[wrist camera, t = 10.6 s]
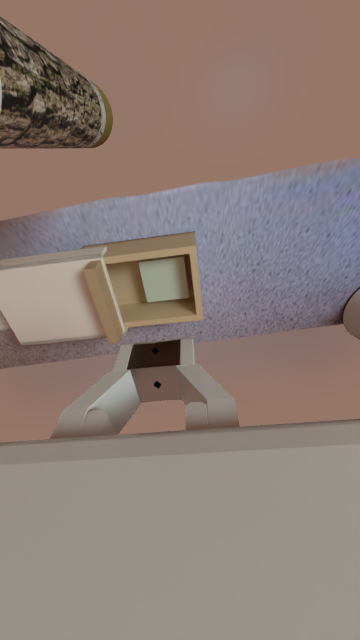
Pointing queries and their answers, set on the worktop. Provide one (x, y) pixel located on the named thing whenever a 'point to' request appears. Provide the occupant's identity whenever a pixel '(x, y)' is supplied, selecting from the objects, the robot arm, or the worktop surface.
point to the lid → (60, 297)
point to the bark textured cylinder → (46, 98)
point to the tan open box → (155, 279)
